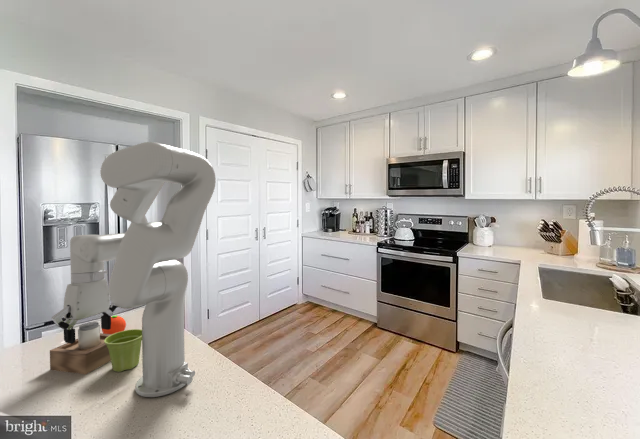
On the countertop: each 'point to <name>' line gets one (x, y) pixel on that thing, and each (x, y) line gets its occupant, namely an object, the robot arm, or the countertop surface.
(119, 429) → the countertop surface
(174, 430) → the countertop surface
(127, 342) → the plant pot
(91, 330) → the white rounded cylinder
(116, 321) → the clementine
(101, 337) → the tray
